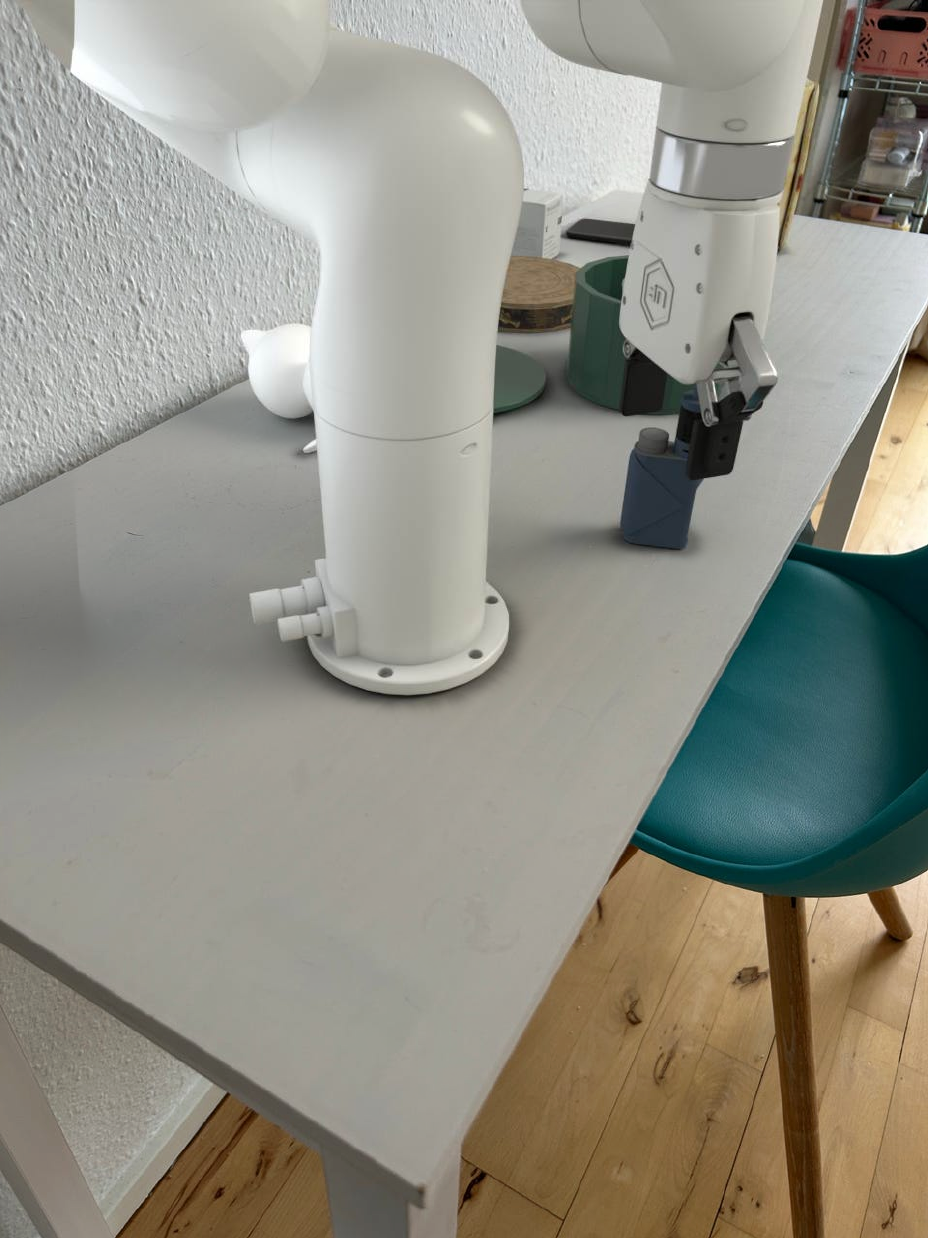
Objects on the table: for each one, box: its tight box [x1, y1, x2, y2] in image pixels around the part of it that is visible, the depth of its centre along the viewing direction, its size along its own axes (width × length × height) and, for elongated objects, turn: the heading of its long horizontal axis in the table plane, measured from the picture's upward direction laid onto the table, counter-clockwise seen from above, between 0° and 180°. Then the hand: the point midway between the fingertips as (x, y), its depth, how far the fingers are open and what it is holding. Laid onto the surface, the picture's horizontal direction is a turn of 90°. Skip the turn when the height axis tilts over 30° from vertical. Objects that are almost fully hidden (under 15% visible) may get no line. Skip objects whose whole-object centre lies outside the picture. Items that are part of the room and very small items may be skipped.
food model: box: [777, 77, 820, 251], centre depth 118 cm, size 10×7×20 cm
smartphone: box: [566, 218, 636, 245], centre depth 127 cm, size 7×1×15 cm
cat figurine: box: [240, 322, 317, 454], centre depth 80 cm, size 9×11×12 cm
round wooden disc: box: [498, 256, 581, 334], centre depth 105 cm, size 16×16×3 cm
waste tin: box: [566, 254, 726, 416], centre depth 88 cm, size 15×15×10 cm
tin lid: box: [493, 344, 547, 414], centre depth 87 cm, size 16×16×7 cm
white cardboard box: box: [511, 187, 564, 259], centre depth 117 cm, size 6×6×7 cm
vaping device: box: [619, 383, 720, 550], centre depth 65 cm, size 3×5×12 cm, turn 78°
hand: (672, 441), depth 64 cm, fingers open, 8 cm apart
